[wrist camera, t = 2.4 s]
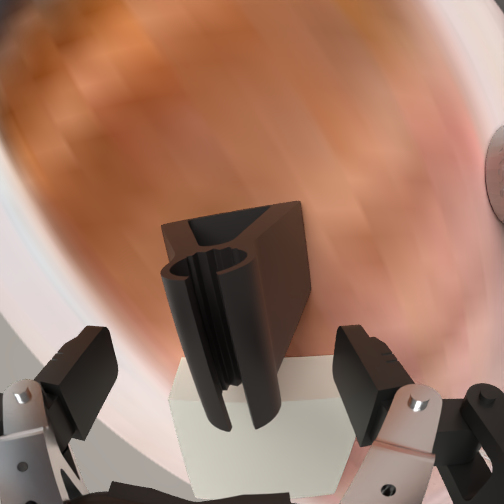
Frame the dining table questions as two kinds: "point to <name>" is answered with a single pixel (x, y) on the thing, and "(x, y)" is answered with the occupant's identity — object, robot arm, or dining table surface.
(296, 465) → the cream block
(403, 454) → the robot arm
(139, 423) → the dining table surface
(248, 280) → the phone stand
